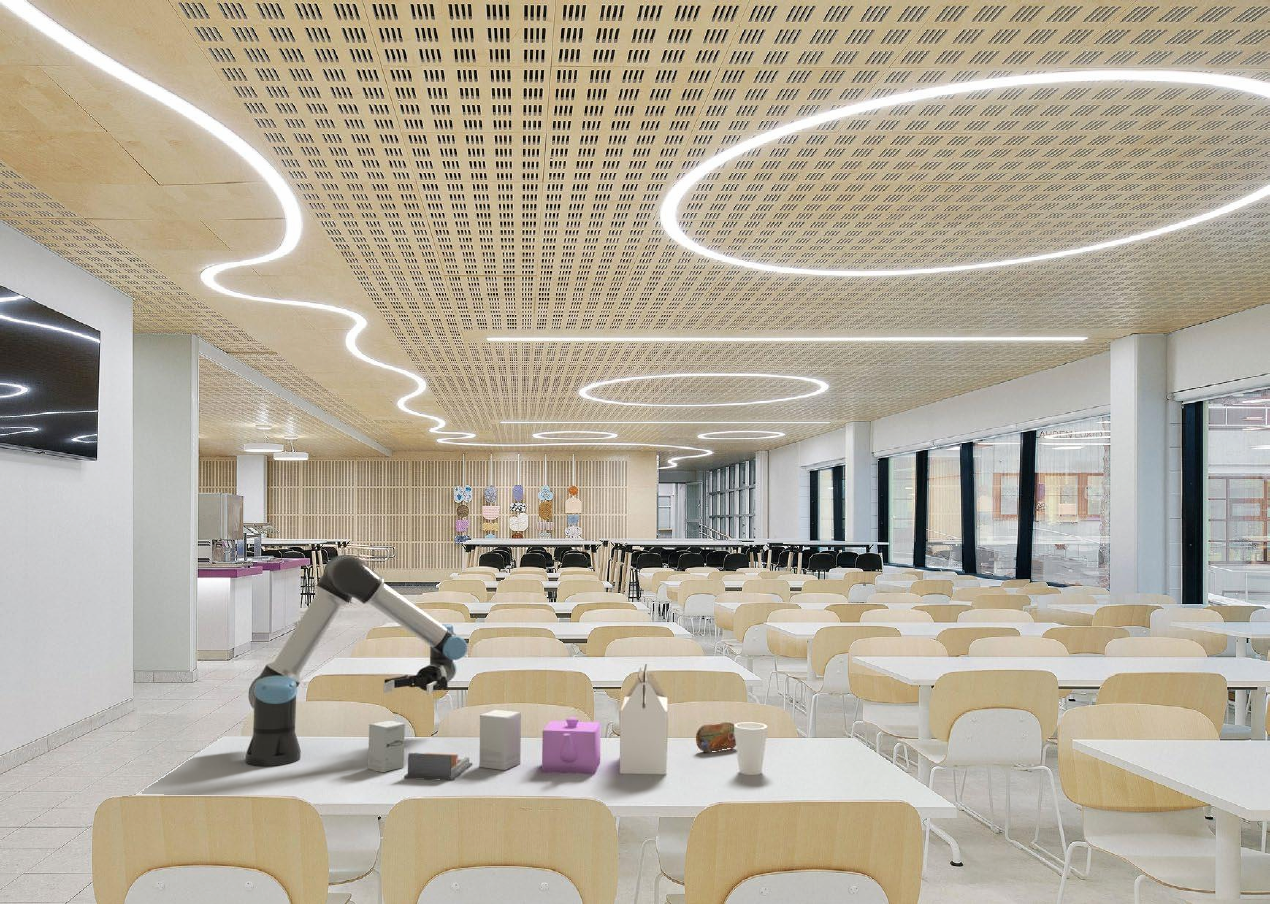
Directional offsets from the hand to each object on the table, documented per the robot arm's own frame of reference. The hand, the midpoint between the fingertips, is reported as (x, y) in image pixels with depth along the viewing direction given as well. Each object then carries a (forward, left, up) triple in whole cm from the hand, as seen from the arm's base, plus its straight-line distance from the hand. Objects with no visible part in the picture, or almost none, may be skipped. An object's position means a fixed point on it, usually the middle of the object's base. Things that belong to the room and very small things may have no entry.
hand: (406, 688), depth 293 cm
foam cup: (+103, +2, -20) cm, 105 cm away
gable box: (+72, +5, -20) cm, 75 cm away
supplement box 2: (+31, -4, -20) cm, 37 cm away
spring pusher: (+16, -13, -19) cm, 28 cm away
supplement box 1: (0, -13, -20) cm, 24 cm away
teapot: (+51, -3, -20) cm, 56 cm away
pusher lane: (+16, -14, -20) cm, 29 cm away
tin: (+92, +26, -20) cm, 97 cm away
